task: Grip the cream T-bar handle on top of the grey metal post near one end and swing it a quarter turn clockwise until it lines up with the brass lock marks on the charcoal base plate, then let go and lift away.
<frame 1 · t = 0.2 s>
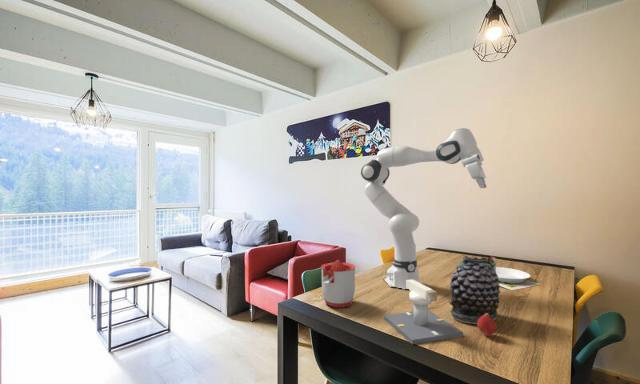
hand: (483, 187, 133), 52 cm above the table, tool tilted 20°, fingers open, 8 cm apart
lock base: (420, 327, 107), on the table
pineapple fairy house: (474, 318, 114), on the table
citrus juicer: (337, 304, 130), on the table
onion: (486, 336, 100), on the table
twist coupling: (420, 293, 107), point 13 cm above the table, hinge at 0.0°
white plate: (503, 279, 166), on the table
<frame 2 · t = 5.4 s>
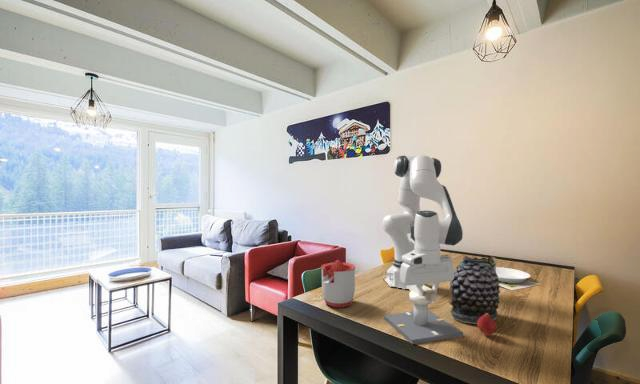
hand: (427, 295, 103), 13 cm above the table, tool pointing down, fingers closed on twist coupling, 3 cm apart
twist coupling: (420, 293, 107), point 13 cm above the table, hinge at 0.0°, touching gripper
everything else where it was.
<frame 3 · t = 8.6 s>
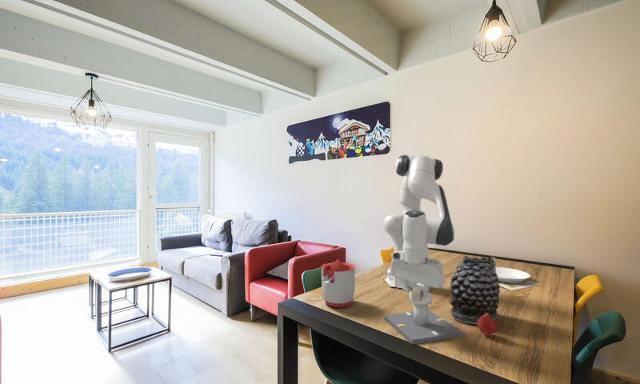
hand: (416, 294, 104), 13 cm above the table, tool pointing down, fingers open, 5 cm apart
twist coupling: (420, 293, 107), point 13 cm above the table, hinge at -44.8°, touching gripper
everything else where it was.
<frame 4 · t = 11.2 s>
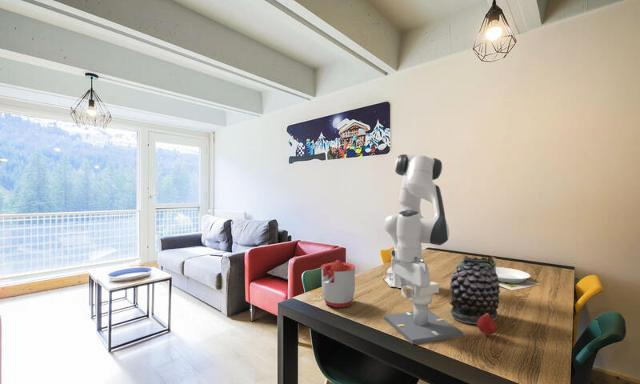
hand: (409, 292, 106), 13 cm above the table, tool pointing down, fingers open, 7 cm apart
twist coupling: (420, 293, 107), point 13 cm above the table, hinge at -82.3°
everything else where it was.
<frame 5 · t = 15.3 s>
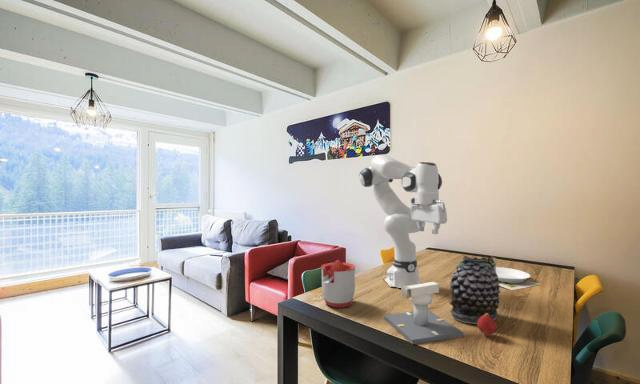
hand: (428, 232, 122), 33 cm above the table, tool pointing down, fingers open, 8 cm apart
nothing on the table moved.
at the end: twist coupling at -82° (first picture: +0°); the gripper is holding nothing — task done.
